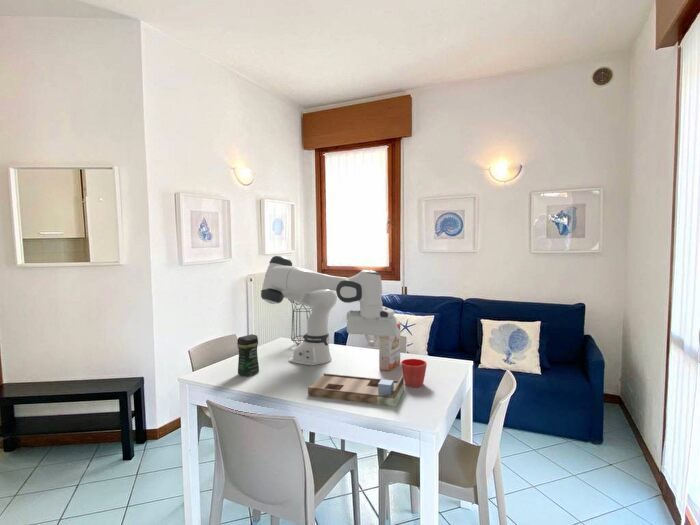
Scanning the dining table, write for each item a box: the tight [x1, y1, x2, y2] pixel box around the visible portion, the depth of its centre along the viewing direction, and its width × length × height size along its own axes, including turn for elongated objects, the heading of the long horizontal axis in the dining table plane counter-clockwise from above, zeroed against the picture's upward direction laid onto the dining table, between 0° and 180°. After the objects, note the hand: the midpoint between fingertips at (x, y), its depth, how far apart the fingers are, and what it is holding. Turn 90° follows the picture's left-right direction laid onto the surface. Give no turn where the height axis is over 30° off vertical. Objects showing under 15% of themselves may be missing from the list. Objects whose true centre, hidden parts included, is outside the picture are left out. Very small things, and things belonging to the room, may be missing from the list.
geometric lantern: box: [287, 299, 312, 346], centre depth 232 cm, size 16×16×35 cm
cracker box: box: [378, 322, 401, 372], centre depth 190 cm, size 14×6×21 cm, turn 150°
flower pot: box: [400, 358, 428, 388], centre depth 166 cm, size 11×11×10 cm
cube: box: [378, 378, 394, 395], centre depth 151 cm, size 5×5×4 cm
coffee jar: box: [236, 334, 260, 377], centre depth 184 cm, size 10×8×19 cm
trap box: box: [307, 373, 405, 407], centre depth 158 cm, size 36×17×6 cm, turn 71°
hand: (372, 345), depth 152 cm, fingers closed
